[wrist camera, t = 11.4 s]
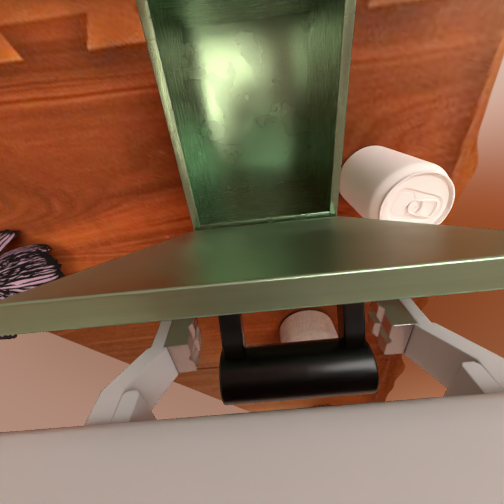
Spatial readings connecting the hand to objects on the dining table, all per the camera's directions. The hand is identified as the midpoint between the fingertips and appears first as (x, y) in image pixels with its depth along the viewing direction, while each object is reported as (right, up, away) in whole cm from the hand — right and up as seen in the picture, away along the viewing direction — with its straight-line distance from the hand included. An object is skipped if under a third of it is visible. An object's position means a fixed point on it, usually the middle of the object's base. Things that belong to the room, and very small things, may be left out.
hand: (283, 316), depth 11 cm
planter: (+10, -12, +39) cm, 42 cm away
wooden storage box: (-1, +20, +19) cm, 27 cm away
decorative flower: (-37, +1, +29) cm, 48 cm away
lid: (0, +4, +3) cm, 5 cm away
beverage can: (+14, +14, +23) cm, 31 cm away
